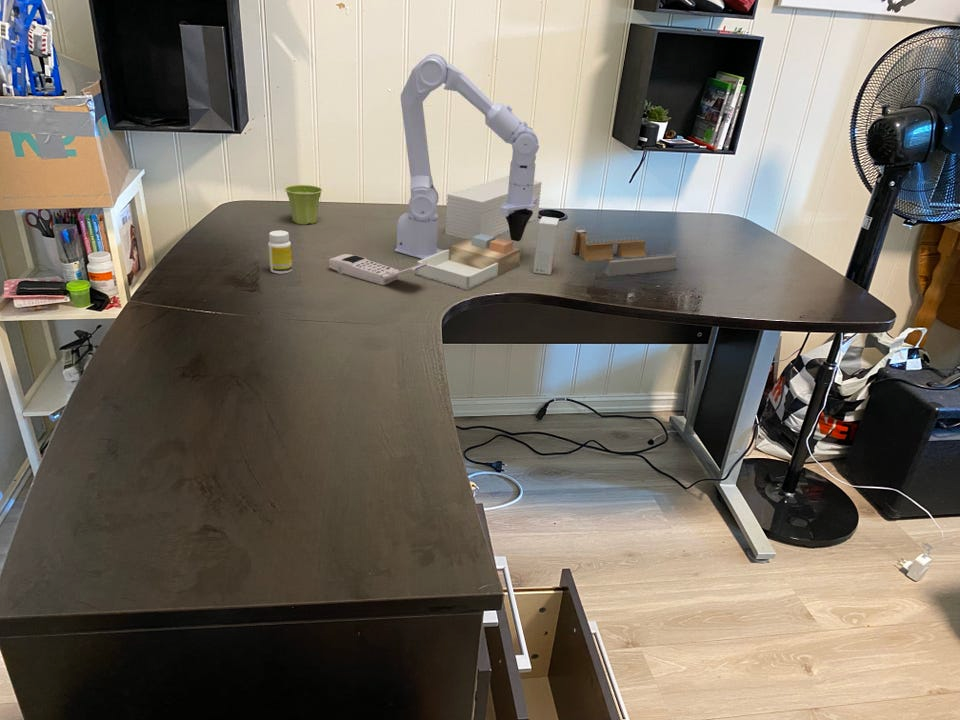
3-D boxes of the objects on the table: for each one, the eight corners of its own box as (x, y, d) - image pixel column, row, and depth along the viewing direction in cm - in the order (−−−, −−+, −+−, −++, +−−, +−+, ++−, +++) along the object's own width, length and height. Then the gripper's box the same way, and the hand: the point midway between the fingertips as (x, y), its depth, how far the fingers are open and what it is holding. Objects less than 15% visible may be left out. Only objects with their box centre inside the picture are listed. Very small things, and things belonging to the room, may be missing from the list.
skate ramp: (601, 288, 159) (606, 256, 156) (529, 241, 187) (532, 213, 184) (703, 277, 171) (709, 247, 168) (620, 235, 199) (625, 208, 196)
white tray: (415, 274, 157) (416, 261, 156) (446, 261, 166) (447, 249, 165) (468, 290, 151) (468, 277, 149) (497, 275, 160) (498, 263, 158)
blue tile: (471, 245, 166) (471, 237, 165) (480, 241, 169) (481, 233, 168) (485, 249, 164) (486, 240, 163) (494, 245, 167) (495, 237, 166)
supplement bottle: (296, 271, 154) (294, 233, 150) (278, 275, 151) (275, 237, 147) (284, 265, 157) (282, 228, 153) (265, 269, 154) (262, 232, 150)
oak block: (450, 262, 166) (451, 246, 164) (473, 252, 173) (474, 237, 172) (497, 275, 160) (498, 259, 158) (519, 265, 167) (520, 248, 166)
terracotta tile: (489, 250, 163) (489, 241, 162) (498, 246, 166) (498, 237, 166) (504, 254, 162) (504, 245, 161) (512, 249, 165) (513, 241, 164)
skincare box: (551, 275, 163) (557, 224, 157) (532, 273, 163) (538, 222, 158) (553, 267, 168) (559, 218, 162) (536, 265, 169) (541, 215, 163)
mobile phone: (413, 269, 144) (319, 242, 154) (411, 296, 146) (319, 268, 157) (429, 262, 148) (337, 237, 159) (428, 288, 151) (337, 262, 162)
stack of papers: (506, 211, 211) (509, 175, 206) (537, 219, 206) (541, 182, 201) (445, 234, 186) (447, 194, 181) (479, 243, 181) (482, 202, 177)
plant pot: (294, 215, 192) (292, 183, 188) (328, 218, 191) (327, 186, 187) (281, 224, 184) (279, 191, 180) (316, 228, 183) (315, 194, 179)
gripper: (520, 191, 155) (515, 250, 161) (551, 181, 166) (544, 237, 172) (493, 185, 158) (489, 243, 165) (525, 176, 170) (519, 231, 176)
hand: (515, 240), depth 169 cm, fingers closed
